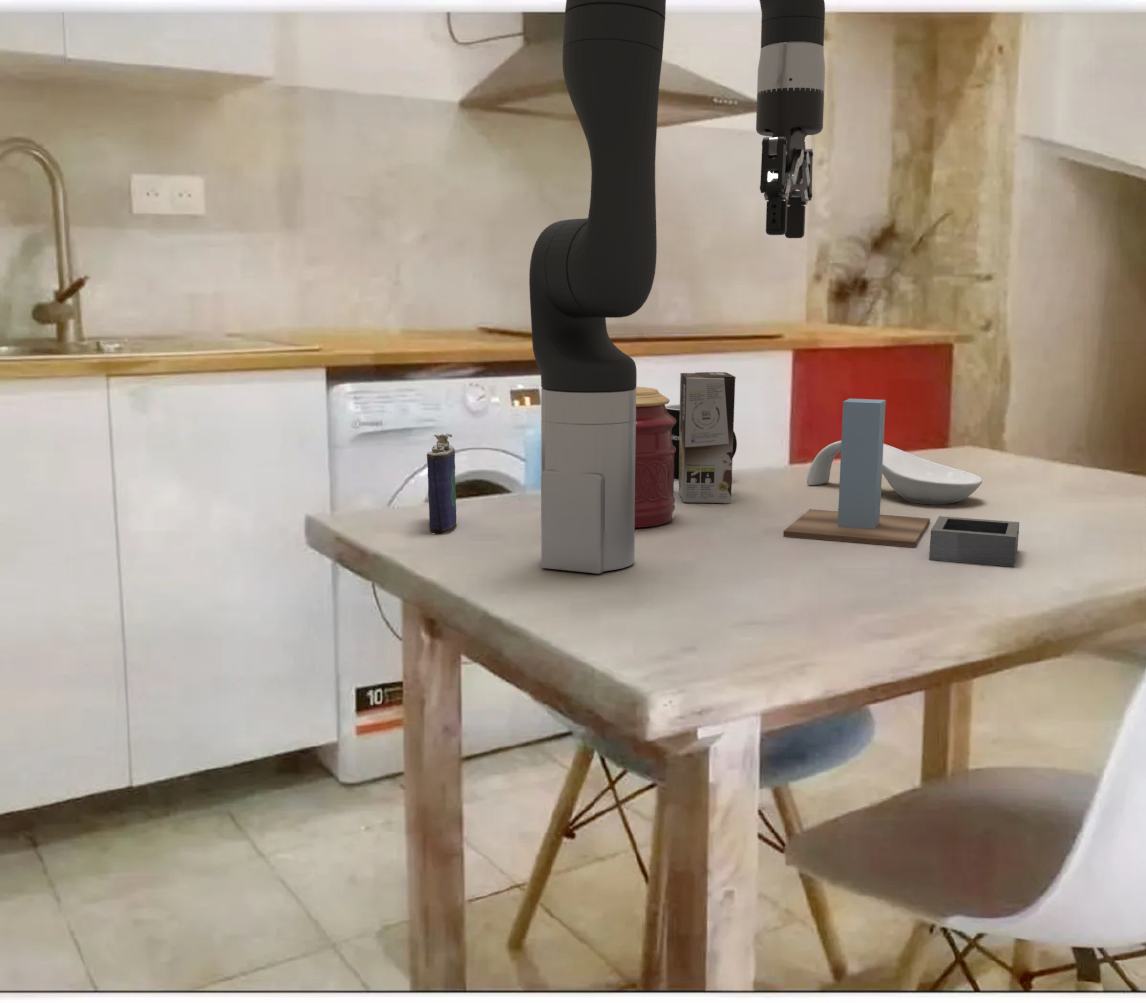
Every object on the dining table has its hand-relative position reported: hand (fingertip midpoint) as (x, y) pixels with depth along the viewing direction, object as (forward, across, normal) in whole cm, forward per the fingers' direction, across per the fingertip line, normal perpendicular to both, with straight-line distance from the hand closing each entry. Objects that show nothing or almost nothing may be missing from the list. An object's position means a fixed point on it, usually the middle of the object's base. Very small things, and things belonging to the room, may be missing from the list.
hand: (785, 236), depth 134 cm
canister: (+33, -11, +16) cm, 38 cm away
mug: (+33, +22, +17) cm, 43 cm away
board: (+33, -6, -11) cm, 35 cm away
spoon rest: (+33, +20, -10) cm, 40 cm away
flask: (+33, -24, +33) cm, 52 cm away
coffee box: (+33, +7, +11) cm, 36 cm away
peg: (+32, -6, -11) cm, 34 cm away
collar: (+33, -13, -24) cm, 43 cm away
